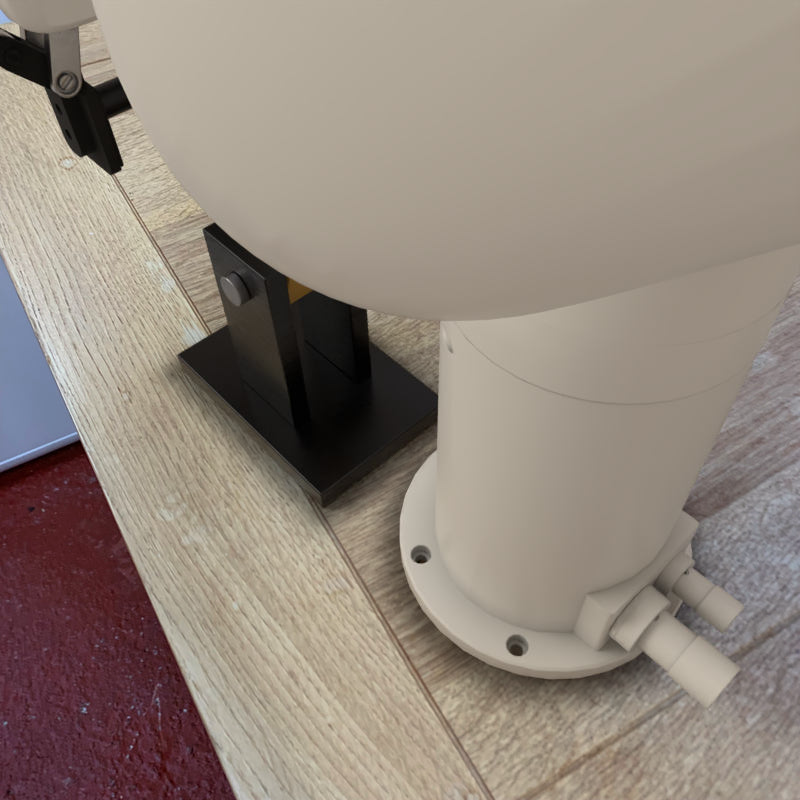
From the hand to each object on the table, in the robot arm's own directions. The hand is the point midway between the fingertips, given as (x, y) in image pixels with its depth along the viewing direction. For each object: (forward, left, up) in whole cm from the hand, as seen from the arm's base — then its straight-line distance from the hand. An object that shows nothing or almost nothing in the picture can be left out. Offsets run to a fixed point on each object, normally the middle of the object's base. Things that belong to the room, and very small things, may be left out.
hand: (155, 132), depth 38 cm
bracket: (-10, 0, -11) cm, 15 cm away
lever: (-5, 0, -1) cm, 5 cm away
